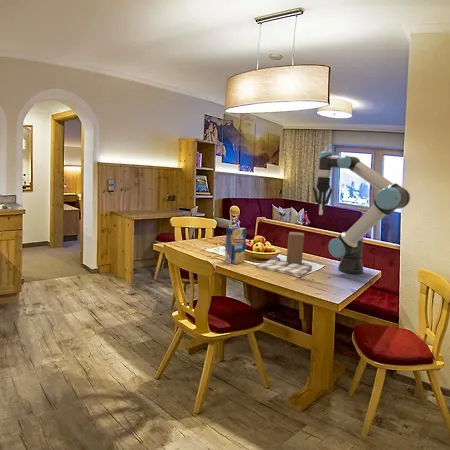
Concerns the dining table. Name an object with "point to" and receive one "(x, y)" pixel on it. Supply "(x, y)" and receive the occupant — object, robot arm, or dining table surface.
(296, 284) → the dining table surface
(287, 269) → the grey ridged flat tray
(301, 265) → the grey wavy slab
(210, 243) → the dining table surface
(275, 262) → the grey ridged flat piece
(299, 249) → the wooden block
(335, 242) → the robot arm
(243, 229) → the blue food box
